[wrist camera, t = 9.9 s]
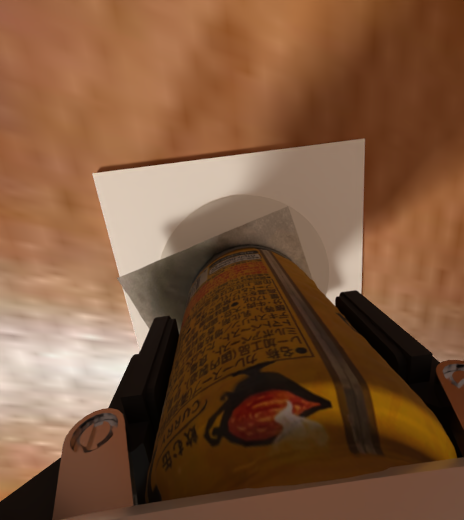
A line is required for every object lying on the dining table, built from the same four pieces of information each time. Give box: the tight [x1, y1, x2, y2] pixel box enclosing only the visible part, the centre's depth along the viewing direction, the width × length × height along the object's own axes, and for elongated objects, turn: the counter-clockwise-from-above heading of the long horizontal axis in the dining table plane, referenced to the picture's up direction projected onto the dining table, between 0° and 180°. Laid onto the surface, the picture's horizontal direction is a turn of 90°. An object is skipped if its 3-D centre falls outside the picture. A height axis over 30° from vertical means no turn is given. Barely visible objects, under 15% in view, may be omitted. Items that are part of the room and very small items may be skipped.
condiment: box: [117, 206, 457, 504], centre depth 8 cm, size 7×8×12 cm
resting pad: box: [92, 138, 365, 351], centre depth 16 cm, size 14×14×1 cm
